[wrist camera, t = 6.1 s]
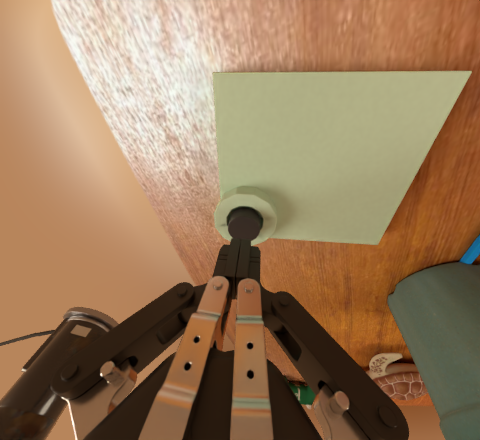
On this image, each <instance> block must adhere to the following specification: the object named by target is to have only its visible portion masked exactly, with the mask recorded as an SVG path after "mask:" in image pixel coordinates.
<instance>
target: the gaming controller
mask: <svg viewBox="0 0 480 440" xmlns="http://www.w3.org/2000/svg"><path fill="white" fill-rule="evenodd" d="M284 378H285V379H286V377H284ZM286 381H287V379H286ZM287 383H288V382H287ZM288 384H289V386H290V387H291V389H292V391H293V392H294V394H295V396H296V397H297V399H298V400H299V402H300V404H305V405H306V406H307V408H308V409H311V405H312V404H313V401H314V399H315V397H316V395H315V394H314V392H313V391H312V389H311V388H310V387H309V385H308V386H305V385H304V384H300V385H296V384H293V383H291V382H289V383H288Z"/></svg>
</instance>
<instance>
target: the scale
mask: <svg viewBox="0 0 480 440" xmlns="http://www.w3.org/2000/svg"><path fill="white" fill-rule="evenodd" d="M471 73H472V71H346V72H213V90H214V106H215V121H216V137H217V152H218V168H219V184H220V201H219V203H218V204H217V207H216V209H215V212H214V220H215V228H216V229H217V230H218V231H219V233H220V234H221V235H222V237H223V238H225V239H227V240H229V241H231V238H232V237H231V236H230V234H229V232H228V224H229V220H230V217H231V214H232V213H233V212H234V211H235V210H236V209H238V208H242V207H247V208H251V209H253V210H255V211H256V212H257V213H258V215H259V217H260V233H259V235H258V237H257V238H256V239H254V240H252V241H251V246H253V245H256V244H259V243H261V242H264V241H266V240H267V239H268V238H279V239H294V240H309V241H325V242H340V243H355V244H371V245H378V243H379V241H380V240H381V238H382V236H383V234H384V232H385V230H386V229H387V227H388V225H389V223H390V221H391V219H392V218H393V216H394V214H395V212H396V210H397V208H398V207H399V205H400V203H401V201H402V199H403V197H404V196H405V194H406V192H407V190H408V188H409V186H410V185H411V183H412V181H413V179H414V177H415V175H416V174H417V172H418V170H419V168H420V166H421V164H422V163H423V161H424V159H425V157H426V155H427V153H428V152H429V150H430V148H431V146H432V144H433V142H434V141H435V139H436V137H437V135H438V133H439V131H440V130H441V128H442V126H443V124H444V122H445V120H446V119H447V117H448V115H449V113H450V111H451V109H452V108H453V106H454V104H455V102H456V100H457V98H458V97H459V95H460V93H461V91H462V89H463V87H464V86H465V84H466V82H467V80H468V78H469V76H470V75H471Z"/></svg>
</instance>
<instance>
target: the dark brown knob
mask: <svg viewBox="0 0 480 440" xmlns="http://www.w3.org/2000/svg"><path fill="white" fill-rule="evenodd" d="M228 232H229V234H230V236H231V237H232V238H237V239H241V240H242V239H251V241H252V240H254V239H256V238H257V237H258V235H259V233H260V217H259V215H258V213H257V212H256V211H255V210H253V209H251V208H247V207H242V208H238V209H236V210H235V211H234V212H233V213H232V214H231V217H230V220H229V224H228Z"/></svg>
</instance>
